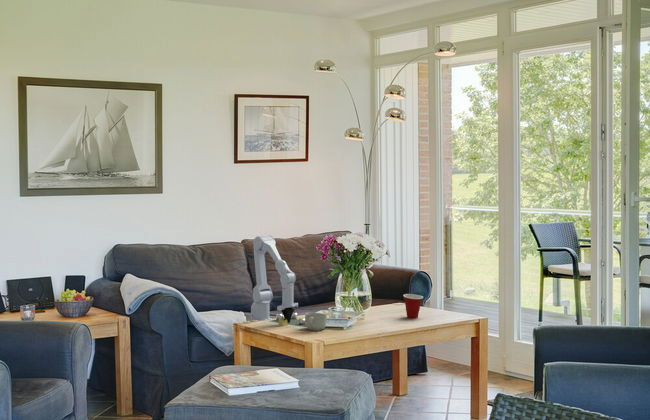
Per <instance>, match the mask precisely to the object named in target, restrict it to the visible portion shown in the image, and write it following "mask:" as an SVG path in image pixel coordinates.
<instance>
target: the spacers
mask: <svg viewBox="0 0 650 420" xmlns="http://www.w3.org/2000/svg"><path fill="white" fill-rule="evenodd" d="M275 318H276V319H275V320H279V319H281V318H284V315H283V313H276V317H275ZM291 319H299V325H305V317H301V318H298V312H293V314H292V317H291Z"/></svg>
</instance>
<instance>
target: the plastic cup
mask: <svg viewBox="0 0 650 420" xmlns="http://www.w3.org/2000/svg"><path fill="white" fill-rule="evenodd" d="M403 298H404V299H403V300H404V303H405V304H404V305H405V312H406V317H407V318H408V319H418V318H419V314H420V313H419V312H420V308H421V304H422V301H423V299H424V296H422V295H420V294H413V293H405V294H403Z"/></svg>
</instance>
